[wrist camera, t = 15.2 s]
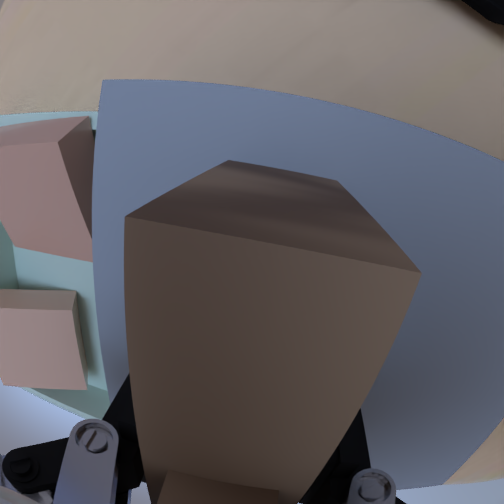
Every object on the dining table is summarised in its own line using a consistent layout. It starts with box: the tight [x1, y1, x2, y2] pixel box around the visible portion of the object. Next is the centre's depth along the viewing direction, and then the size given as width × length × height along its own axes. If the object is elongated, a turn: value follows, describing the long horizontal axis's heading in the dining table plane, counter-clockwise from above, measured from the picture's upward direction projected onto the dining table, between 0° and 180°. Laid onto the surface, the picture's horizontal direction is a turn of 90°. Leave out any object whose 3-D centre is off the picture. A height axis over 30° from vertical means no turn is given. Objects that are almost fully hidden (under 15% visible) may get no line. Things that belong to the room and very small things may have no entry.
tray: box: [0, 112, 110, 420], centre depth 15 cm, size 10×18×3 cm, turn 171°
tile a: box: [0, 116, 95, 262], centre depth 12 cm, size 6×6×2 cm
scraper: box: [124, 160, 422, 504], centre depth 7 cm, size 3×14×8 cm, turn 171°
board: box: [92, 80, 504, 490], centre depth 13 cm, size 20×18×5 cm
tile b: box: [0, 289, 88, 390], centre depth 15 cm, size 6×6×2 cm
